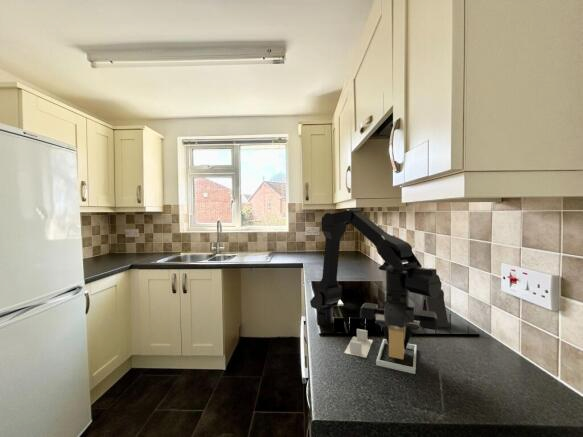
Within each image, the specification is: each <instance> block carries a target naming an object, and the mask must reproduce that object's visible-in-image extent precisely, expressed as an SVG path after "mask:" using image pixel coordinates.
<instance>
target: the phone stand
mask: <svg viewBox="0 0 583 437" xmlns="http://www.w3.org/2000/svg"><path fill="white" fill-rule="evenodd" d="M420 310H425V311H433V312H435V313H436V315H437V329H439V328H441V329H444V328H445V329H447V328H449V327H450V326H449V325H450V324H449V320H448V315H447V308H446V304H445V291H444V290H443V289H441V291H440V294H439V295H438V297H437V298H430V297H426V296H422V300H421V307H420Z"/></svg>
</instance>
